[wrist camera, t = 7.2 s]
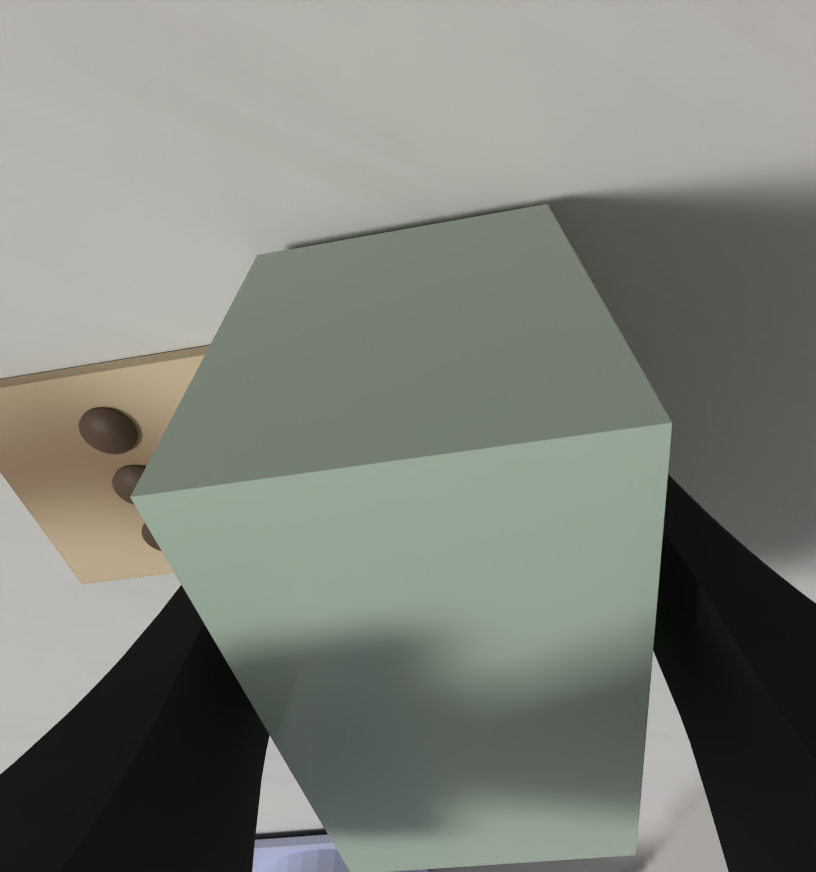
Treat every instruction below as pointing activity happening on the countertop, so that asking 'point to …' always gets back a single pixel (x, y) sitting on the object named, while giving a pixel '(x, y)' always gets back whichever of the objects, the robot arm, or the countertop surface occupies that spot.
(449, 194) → the countertop surface
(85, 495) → the pad three
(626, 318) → the countertop surface
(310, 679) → the pale green block
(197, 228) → the countertop surface
